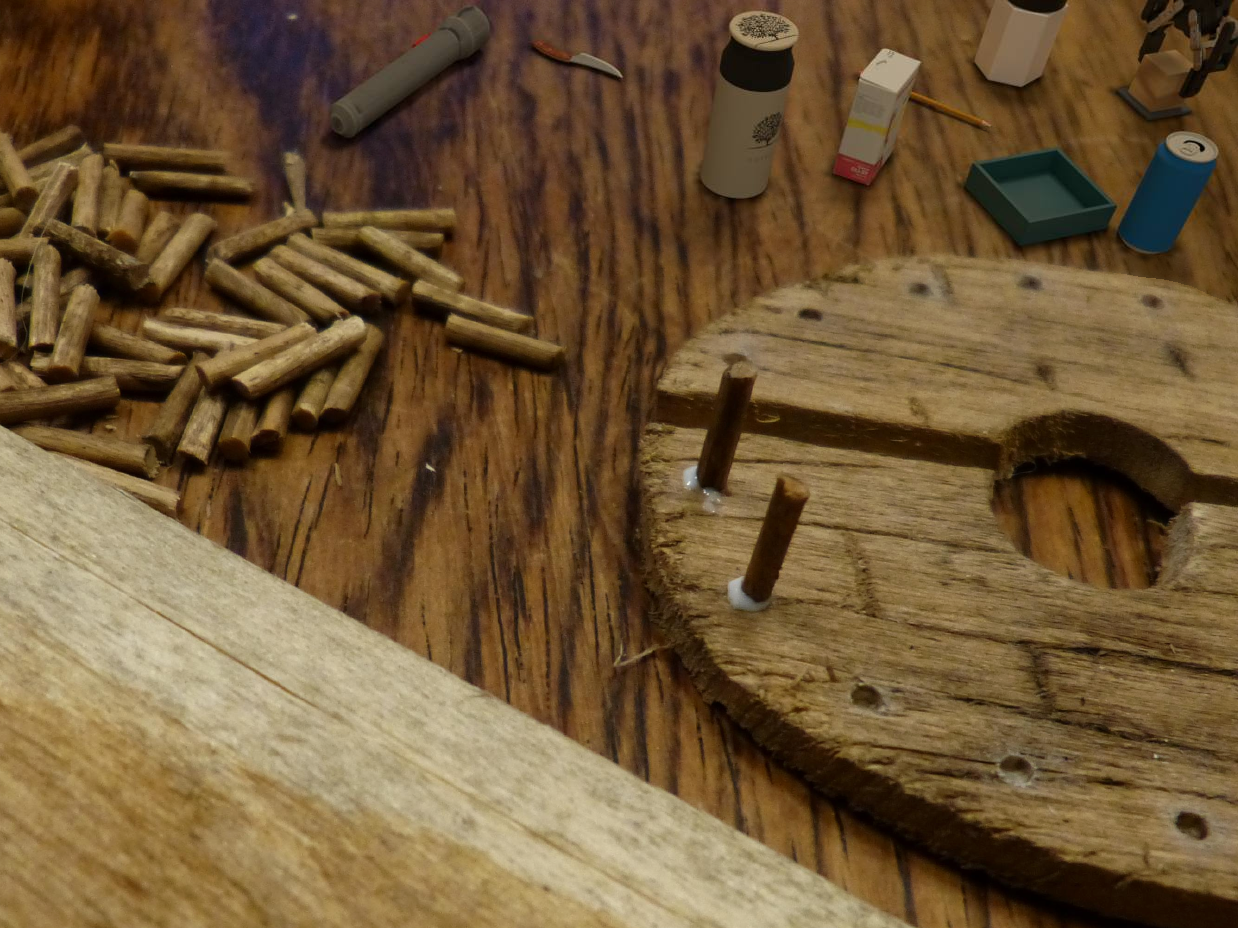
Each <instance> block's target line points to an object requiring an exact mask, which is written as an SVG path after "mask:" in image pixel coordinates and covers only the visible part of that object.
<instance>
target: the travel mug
mask: <svg viewBox="0 0 1238 928" xmlns="http://www.w3.org/2000/svg"><path fill="white" fill-rule="evenodd" d="M728 30H729V34H730V40H729V41H728V42H727V44H726V45H725V46H724V48H723V50H722V52H721V57H720V62H719V68H718V75H717V79H716V85H715V89H714V90H715V91H714V97H713V101H712V107H711V111H710V112H711V113H710V117H709V123H708V128H707V129H708V130H707V133H706V134H707V135H706V141H705V145H704V152H703V156H702V161H701V168H700V180H701V182H702V184H703V185H704V186H705V187H706V188H707V189H709V190H710V191H711V192H713V193H715V194H717V195H720V196H721V197H722V196H723V197H726V198H731V199H747V198H748V199H749V198H753V197H755V196H756V197H757V196H759V195H760V194H761V193H763V192H764V191H765V190H766V189H767V186H768V182H769V178H770V174H771V170H772V166H773V162H774V161H773V160H774V156H775V152H776V148H777V144H778V139H779V134H780V130H781V126H782V122H783V118H784V113H785V108H786V105H787V99H788V96H789V91H790V87H791V82H792V77H793V75H794V74H793V73H794V71H795V70H794V69H795V65H796V63H795V58H794V53H793V48H794V45H795V44H797V42H798V41H799V38H800V32H799V29H798V27H797V25H795V24H794V22H793V21H792V20H790V19H788V18H787V17H785V16H783V15H780V14H777V13H774V12H769V11H764V10H763V11H762V10H754V11H753V10H752V11H746V12H742V13H739V14H737V15H735V16H734V17H733V18H732V19H731V20H730V21H729V25H728Z"/></svg>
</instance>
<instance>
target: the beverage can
mask: <svg viewBox="0 0 1238 928" xmlns="http://www.w3.org/2000/svg"><path fill="white" fill-rule="evenodd" d="M1218 155H1219V148H1218V146H1217V145H1216V144H1215V143H1214V142H1213V141H1212V140H1211V139H1209V138H1208V137H1206V136H1204V135H1202V134H1199V133H1196V132H1193V131H1192V132H1191V131H1185V130H1184V131H1175V132H1172V133H1170V134H1168V136H1167V137H1166V139H1165V140H1163V141H1162V142H1161V143H1160V144H1158V146H1157V148H1156V150H1155V151H1154V154H1153V155H1152V157H1151V160H1150V162H1149V163H1148V166H1147V167H1146V170H1145V172H1144V173H1143V176H1142V178H1141V179H1140V182H1139V184H1138V186H1137V188H1136V190H1135V192H1134V194H1133V196H1132V198H1131V200H1130V202H1129V204H1128V206H1127V208H1126V210H1125V212H1124V214H1123V216H1122V218H1121V221H1120V222H1119V223H1118V226H1117V227H1118V228H1117V233H1118V235H1119V236H1120V238H1121V240H1122V242H1123V243H1124V244H1125V245H1126V246H1127V247H1128V248H1130V249H1131V250H1132V251H1135V252H1137V253H1140V254H1146V255H1154V254H1155V255H1156V254H1159V253H1164V252H1166V251H1169V250H1171V248H1173V246H1174V245H1175V243H1176V242H1177V239H1178V237H1179V236H1180V233H1181V232H1182V230H1183V229H1184V227H1185V225H1186V223H1187V221H1188V220H1189V217H1190V215H1191V213H1192V212H1193V210H1194V208H1195V206H1196V205H1197V202H1198V201H1199V199H1200V197H1201V196H1202V193H1203V192H1204V191H1205V188H1206V186H1207V184H1208V183H1209V181H1210V178H1211V177H1212V175H1213V173H1214V171H1215V169H1216V167H1217V165H1218V164H1217V163H1218V160H1217V159H1218V158H1217V157H1218Z"/></svg>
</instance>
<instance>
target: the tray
mask: <svg viewBox="0 0 1238 928" xmlns="http://www.w3.org/2000/svg"><path fill="white" fill-rule="evenodd" d="M963 186H964V188H966V189H967V191H968V192H969V193H970V194H971V195H972V196H973V197H974V198H975V199H976V200H977V201H978V202H979V204H980V205H981V206H982V207H983V208H984V209H985V210H986V211H987V212H988V213H989V215H990V216H991V217H992V218H993V219H994V220H995V221H996V222H997V223H998V224H999V225H1000V227H1002V228H1003V230H1004V231H1005V232H1006V233H1007V234H1008V235H1009V236H1010V237H1011V239H1013V241H1014V242H1015V243H1017V245H1018V246H1019V247H1021V246H1022V247H1023V246H1027V245H1033V244H1037V243H1042V242H1047V241H1051V240H1052V241H1053V240H1056V239H1062V238H1066V237H1072V236H1076V235H1081V234H1086V233H1090V232H1097V231H1100V230H1101V231H1102V230H1106V229H1107V228H1108V226H1109V224H1110V222H1111V220H1112V218H1113V216H1114V214H1115V212H1116V210H1117V208H1118V204H1117V203H1116V202H1115V201H1114V200H1113V199H1111V197H1110V196H1109V195H1108V194H1106V192H1105V191H1103V189H1101V187H1099V185H1098V184H1096V182H1095V181H1093V179H1091V178H1090V176H1088V175H1087V174H1086V173H1085V172H1084V171H1083V170H1082V169H1081V168H1080V167H1079V166H1078V164H1076V163H1075V162H1074V161H1073V160H1072V158H1070V157H1069V155H1067V154H1066V153H1065V152H1064V151H1063V150H1062V149H1061V148H1060V147H1059V146H1055V147H1049V148H1043V149H1039V150H1033V151H1028V152H1022V153H1017V154H1012V155H1006V156H1001V157H995V158H989V159H983V160H977V161H973V162H972V163H971V166H970V170H969V171H968V174H967V176H966V180H965V182H964V184H963Z"/></svg>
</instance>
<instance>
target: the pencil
mask: <svg viewBox="0 0 1238 928" xmlns="http://www.w3.org/2000/svg"><path fill="white" fill-rule="evenodd" d="M863 71H864V70H859V71H858V73H857V76H859V77H860V74H861V73H862V72H863ZM909 97H910V98H913V99H914V100H915V99H916V100H919V101H921V102H923V103H924V104H925V103H926V104H928V105H930V106H933V107H936V108H937V109H940V110H942V111H944V112H948V113H950V114H952V115H955V116H957V117H959V118H962V119H965V120H967V121H970V122H972V123H974V124H977V125H980V126H983V127H990V128H993V126H992V125H991V124H989V123H988V122H987V121H985V120H984V119H981V118H979V117H976V116H974V115H971V114H969V113H966V112H965V111H962V110H959V109H957V108H954V107H952V106H949V105H946V104H944V103H942V102H939V101H937V100H934V99H932V98H929V97H927V96H924V95H922V94H920V93H917V92H916V91H915V92H914V91H912V90H911V93H910V96H909Z"/></svg>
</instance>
